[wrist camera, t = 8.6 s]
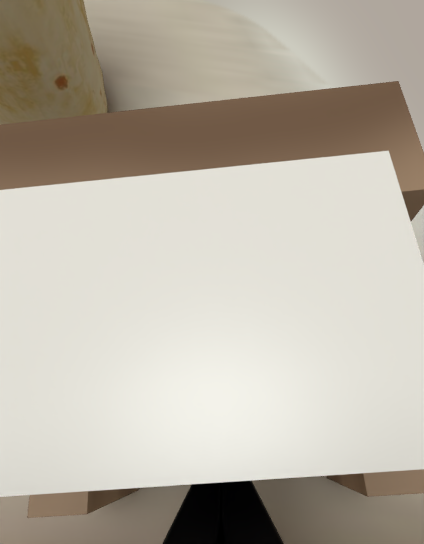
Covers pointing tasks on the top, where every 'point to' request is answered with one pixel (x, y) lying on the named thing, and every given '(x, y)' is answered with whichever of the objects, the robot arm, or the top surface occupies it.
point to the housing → (217, 154)
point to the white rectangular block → (210, 327)
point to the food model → (47, 62)
